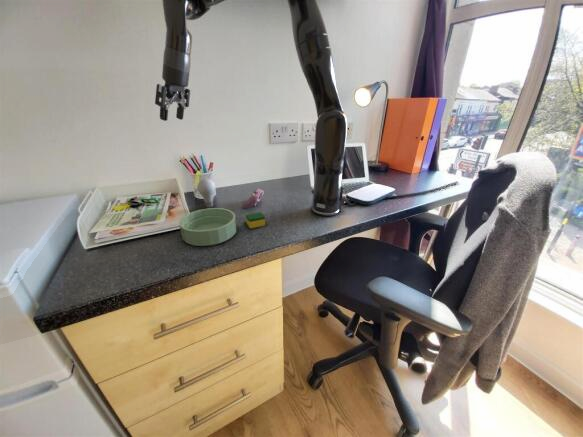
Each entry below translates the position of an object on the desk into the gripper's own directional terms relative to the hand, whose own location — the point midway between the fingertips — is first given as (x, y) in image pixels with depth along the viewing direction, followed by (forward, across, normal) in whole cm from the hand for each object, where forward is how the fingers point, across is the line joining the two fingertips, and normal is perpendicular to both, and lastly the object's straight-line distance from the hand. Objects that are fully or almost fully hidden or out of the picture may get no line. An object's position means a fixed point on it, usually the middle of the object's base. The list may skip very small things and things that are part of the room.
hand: (171, 119), depth 81 cm
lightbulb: (+24, -6, -22) cm, 33 cm away
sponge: (+17, -15, -42) cm, 47 cm away
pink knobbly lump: (+19, +1, -36) cm, 41 cm away
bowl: (+21, -24, -31) cm, 44 cm away
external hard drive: (+4, +20, -78) cm, 81 cm away
